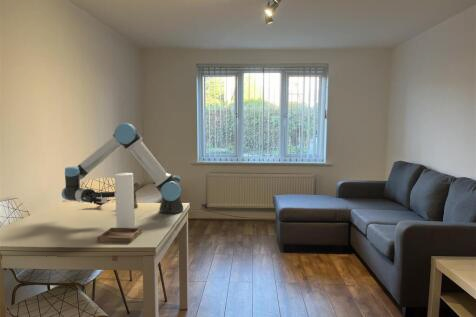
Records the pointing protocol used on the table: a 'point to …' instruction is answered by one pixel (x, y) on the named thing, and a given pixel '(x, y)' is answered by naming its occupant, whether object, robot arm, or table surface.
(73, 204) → the table surface
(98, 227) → the table surface
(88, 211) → the table surface
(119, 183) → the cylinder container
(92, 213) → the table surface
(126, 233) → the walnut stand tray
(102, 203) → the decorative bird figurine
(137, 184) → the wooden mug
